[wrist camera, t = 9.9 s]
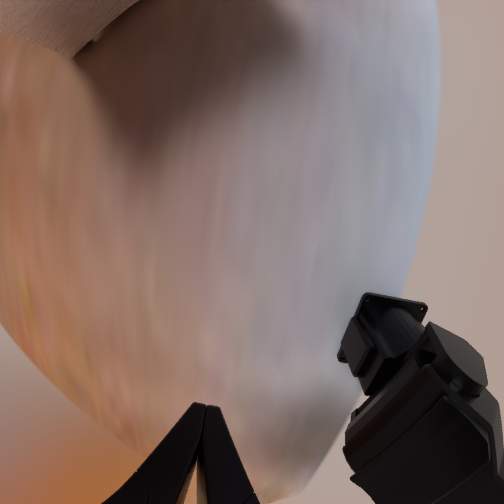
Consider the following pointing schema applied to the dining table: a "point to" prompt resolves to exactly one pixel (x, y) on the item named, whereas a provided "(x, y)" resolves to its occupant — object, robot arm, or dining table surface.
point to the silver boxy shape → (59, 21)
